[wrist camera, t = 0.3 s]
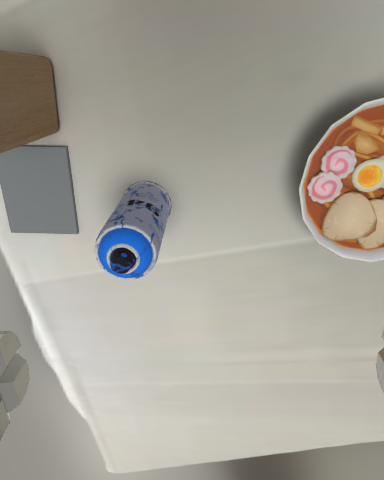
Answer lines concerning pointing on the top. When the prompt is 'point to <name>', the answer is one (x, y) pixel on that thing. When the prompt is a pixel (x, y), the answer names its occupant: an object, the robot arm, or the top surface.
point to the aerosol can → (134, 232)
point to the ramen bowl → (348, 185)
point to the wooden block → (25, 99)
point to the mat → (38, 190)
